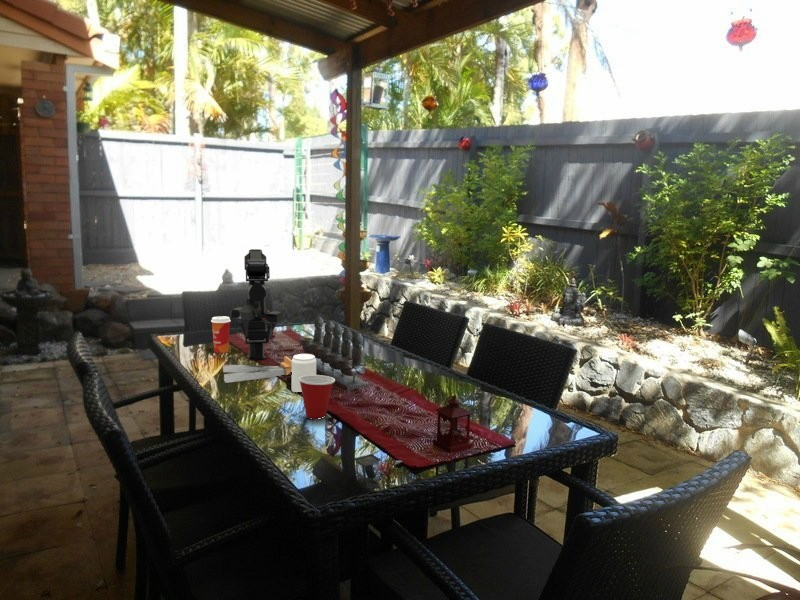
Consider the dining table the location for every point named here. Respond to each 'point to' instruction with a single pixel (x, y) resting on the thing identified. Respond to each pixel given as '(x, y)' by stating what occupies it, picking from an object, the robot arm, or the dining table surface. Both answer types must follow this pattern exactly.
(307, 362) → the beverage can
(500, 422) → the dining table surface
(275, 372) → the base
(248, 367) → the bar
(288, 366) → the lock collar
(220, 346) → the paper cup
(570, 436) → the dining table surface
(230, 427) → the dining table surface
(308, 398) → the plastic cup
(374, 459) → the dining table surface
